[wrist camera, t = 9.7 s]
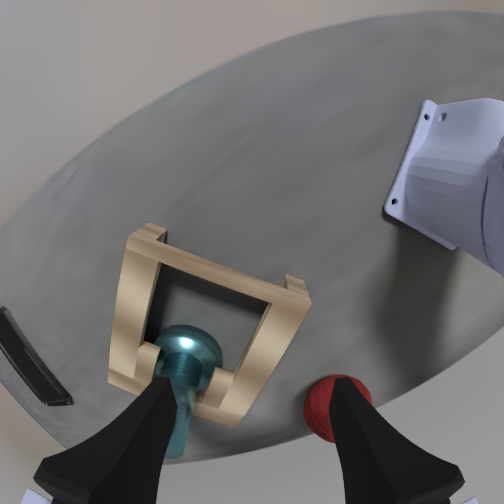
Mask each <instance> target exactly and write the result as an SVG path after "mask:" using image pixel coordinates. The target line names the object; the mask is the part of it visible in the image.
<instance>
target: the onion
mask: <svg viewBox="0 0 504 504" xmlns="http://www.w3.org/2000/svg"><path fill="white" fill-rule="evenodd" d="M342 377H350V376H347V375H332V376H328V377H326V378H324V379H322V380H320V381H319V382H318V383H316V384H315V386H314V387H313V388H312V389H311V390H310V391H309V392H308V394H307V396H306V399H305V403H304V410H303V414H304V417H305V421H306V422H307V424H308V426H309V427H310V429H311V430H312V432H314V433H315V434H316V435H318V436H319V437H321V438H322V439H324V440H326V441H328V442H331V443H335V440H334V436H333V432H332V428H331V423H330V415H329V403H330V399H331V395H332V391H333V387H334V382H335V378H342ZM350 378H351V380H352V381H353V382H354V384H355V385H356V386H357V388H358V389H359V390H360V391H361V393H362V394H363V395H364V396H365V398H366V399H367V400H368V401H369V402H370V404H371V405H372V401H371V395H370V392H369V391H368V389H367V388H366V387H365V386H364V384H363V383H362V382H361V381H360V380H358V379H355V378H353V377H350Z"/></svg>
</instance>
